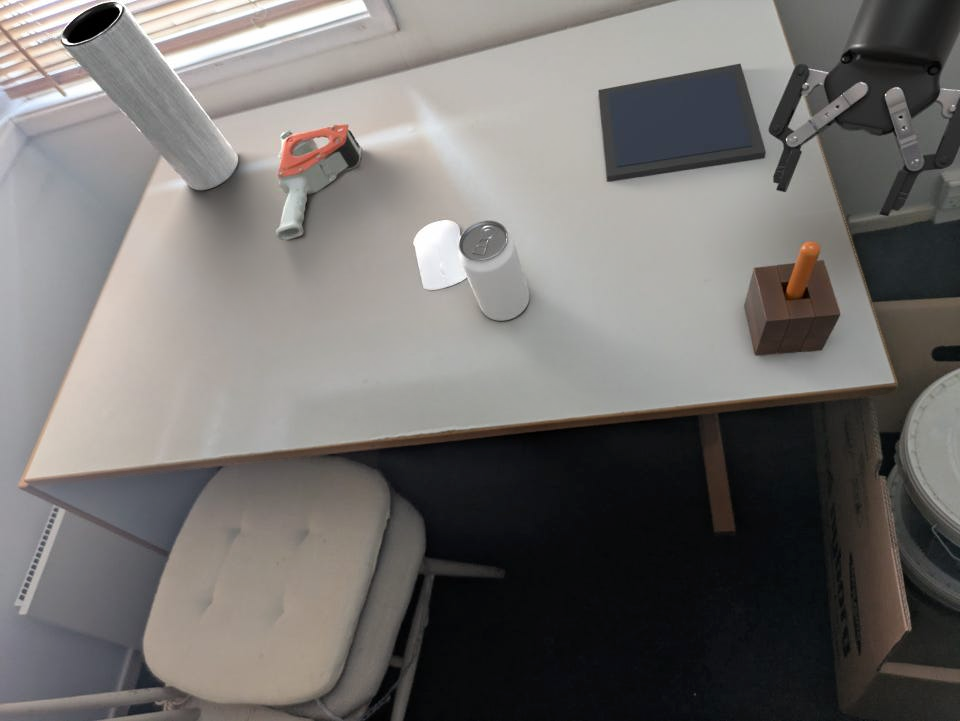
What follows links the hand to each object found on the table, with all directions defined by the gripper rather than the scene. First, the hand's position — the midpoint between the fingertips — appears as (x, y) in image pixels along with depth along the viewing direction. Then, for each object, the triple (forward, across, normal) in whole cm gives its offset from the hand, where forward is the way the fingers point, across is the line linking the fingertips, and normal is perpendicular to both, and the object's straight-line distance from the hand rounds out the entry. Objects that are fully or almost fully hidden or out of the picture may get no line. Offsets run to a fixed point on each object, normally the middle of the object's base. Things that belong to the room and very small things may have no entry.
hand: (830, 202), depth 53 cm
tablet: (-5, -23, +26) cm, 35 cm away
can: (+20, -30, +1) cm, 37 cm away
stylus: (+14, 0, +8) cm, 16 cm away
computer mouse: (+18, -43, +4) cm, 47 cm away
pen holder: (+14, 0, +8) cm, 16 cm away
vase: (+18, -94, +4) cm, 96 cm away
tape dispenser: (+15, -72, +6) cm, 74 cm away
